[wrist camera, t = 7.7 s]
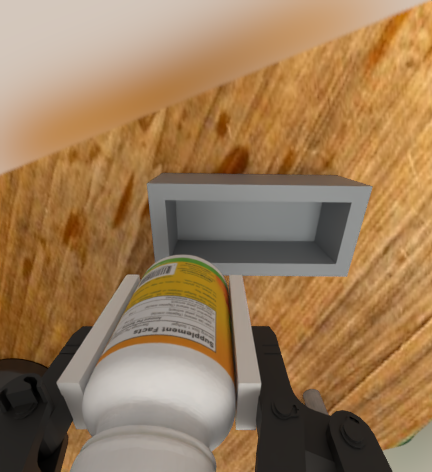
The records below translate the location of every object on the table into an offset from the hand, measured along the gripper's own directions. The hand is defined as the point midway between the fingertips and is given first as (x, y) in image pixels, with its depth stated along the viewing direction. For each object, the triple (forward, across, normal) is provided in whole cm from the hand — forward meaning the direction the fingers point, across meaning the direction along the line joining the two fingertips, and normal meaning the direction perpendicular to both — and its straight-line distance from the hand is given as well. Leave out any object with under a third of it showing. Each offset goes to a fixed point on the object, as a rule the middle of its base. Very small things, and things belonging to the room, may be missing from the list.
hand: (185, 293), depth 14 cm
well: (+17, +6, 0) cm, 18 cm away
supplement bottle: (+1, 0, 0) cm, 1 cm away
